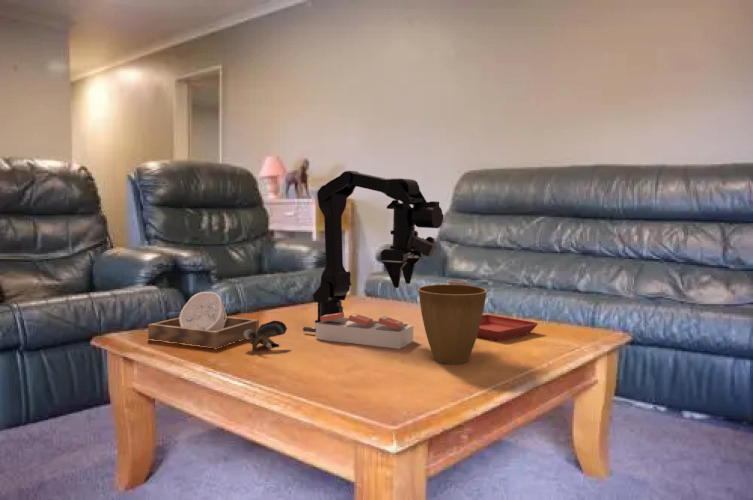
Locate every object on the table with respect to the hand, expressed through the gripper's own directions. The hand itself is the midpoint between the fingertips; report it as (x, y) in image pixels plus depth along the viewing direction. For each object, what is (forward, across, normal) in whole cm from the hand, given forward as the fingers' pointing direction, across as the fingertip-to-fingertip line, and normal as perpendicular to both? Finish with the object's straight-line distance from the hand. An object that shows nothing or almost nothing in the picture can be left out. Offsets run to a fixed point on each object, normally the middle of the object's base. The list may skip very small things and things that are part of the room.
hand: (402, 285), depth 156 cm
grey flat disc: (+13, -26, +43) cm, 52 cm away
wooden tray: (+13, -26, +43) cm, 52 cm away
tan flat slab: (+13, +28, -8) cm, 32 cm away
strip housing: (+13, -11, +9) cm, 19 cm away
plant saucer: (+13, +13, -22) cm, 29 cm away
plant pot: (+13, -21, -19) cm, 31 cm away
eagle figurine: (+14, -29, +24) cm, 40 cm away
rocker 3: (+7, -14, -2) cm, 16 cm away
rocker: (+7, -13, +6) cm, 16 cm away
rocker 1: (+8, -13, +14) cm, 21 cm away
